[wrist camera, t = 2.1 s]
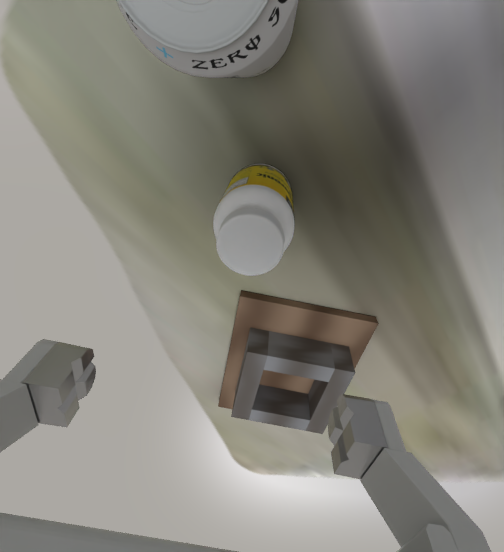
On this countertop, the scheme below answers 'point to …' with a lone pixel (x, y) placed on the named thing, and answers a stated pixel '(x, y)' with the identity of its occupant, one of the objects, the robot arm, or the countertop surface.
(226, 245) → the supplement bottle
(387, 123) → the countertop surface
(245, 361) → the socket block
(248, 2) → the energy drink can
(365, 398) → the robot arm
